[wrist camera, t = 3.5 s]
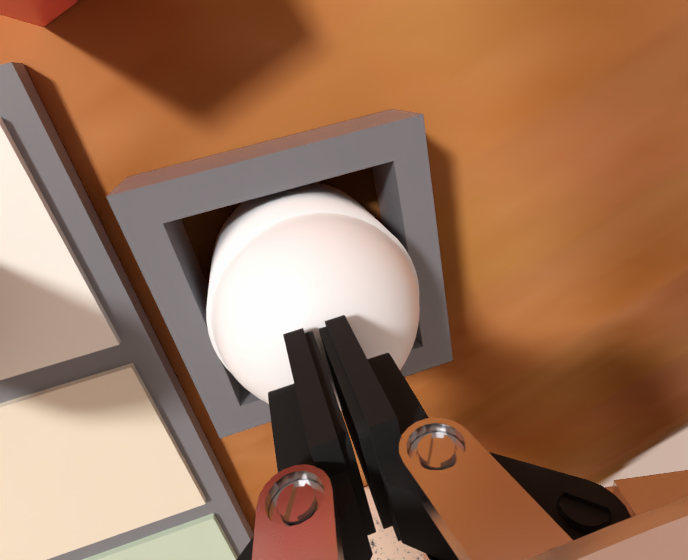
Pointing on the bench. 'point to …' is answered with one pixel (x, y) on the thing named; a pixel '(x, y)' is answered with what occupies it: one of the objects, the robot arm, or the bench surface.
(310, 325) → the dome
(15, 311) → the game board
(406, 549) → the teacup with lid
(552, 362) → the bench surface
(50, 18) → the red die
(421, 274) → the dome housing
